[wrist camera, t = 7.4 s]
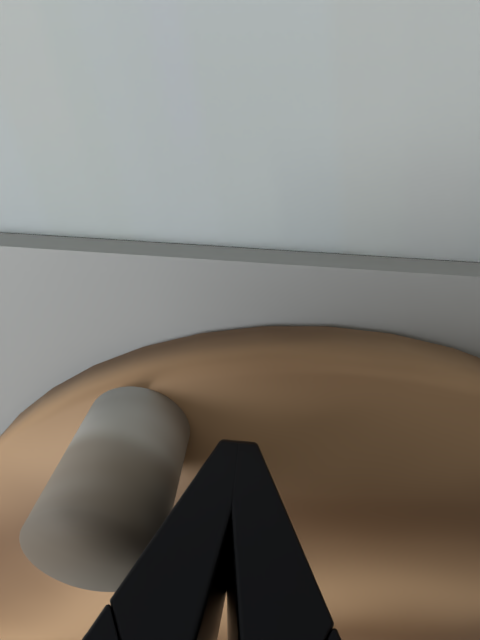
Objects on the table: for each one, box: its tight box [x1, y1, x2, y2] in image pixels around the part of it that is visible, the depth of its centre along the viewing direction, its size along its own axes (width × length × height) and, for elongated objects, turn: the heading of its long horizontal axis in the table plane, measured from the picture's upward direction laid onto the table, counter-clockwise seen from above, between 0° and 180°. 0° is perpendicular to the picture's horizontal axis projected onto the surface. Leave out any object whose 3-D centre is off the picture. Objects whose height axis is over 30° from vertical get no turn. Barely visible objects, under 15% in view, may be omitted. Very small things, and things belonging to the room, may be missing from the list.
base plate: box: [0, 233, 480, 436], centre depth 15 cm, size 28×28×4 cm
